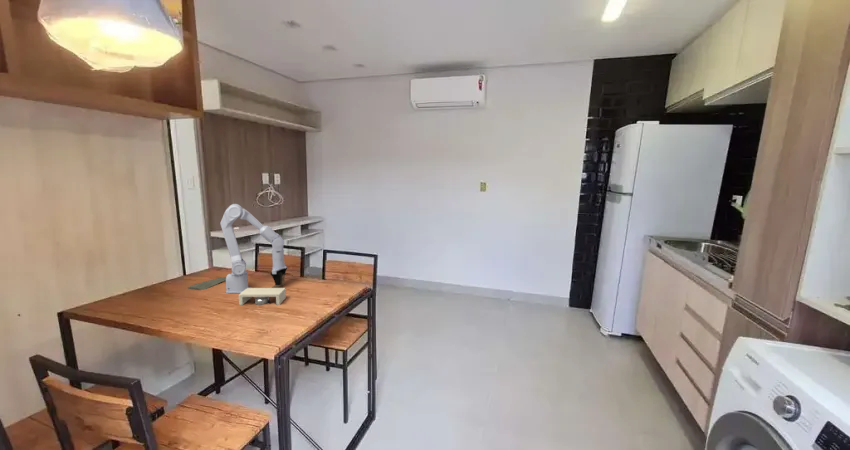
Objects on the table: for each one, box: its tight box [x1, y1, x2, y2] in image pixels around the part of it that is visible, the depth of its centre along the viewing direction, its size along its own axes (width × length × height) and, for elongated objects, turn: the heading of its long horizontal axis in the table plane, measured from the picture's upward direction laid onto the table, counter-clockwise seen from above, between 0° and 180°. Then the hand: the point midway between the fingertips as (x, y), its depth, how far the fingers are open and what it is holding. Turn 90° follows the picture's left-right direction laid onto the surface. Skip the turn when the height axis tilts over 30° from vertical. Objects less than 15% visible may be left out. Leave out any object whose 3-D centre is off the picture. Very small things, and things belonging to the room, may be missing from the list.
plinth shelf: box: [238, 287, 287, 306], centre depth 163 cm, size 18×9×5 cm, turn 94°
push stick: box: [271, 274, 286, 288], centre depth 179 cm, size 4×17×6 cm, turn 3°
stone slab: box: [187, 276, 227, 291], centre depth 188 cm, size 22×3×10 cm
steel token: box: [254, 297, 270, 306], centre depth 162 cm, size 6×6×2 cm
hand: (279, 283), depth 185 cm, fingers closed on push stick, 5 cm apart
